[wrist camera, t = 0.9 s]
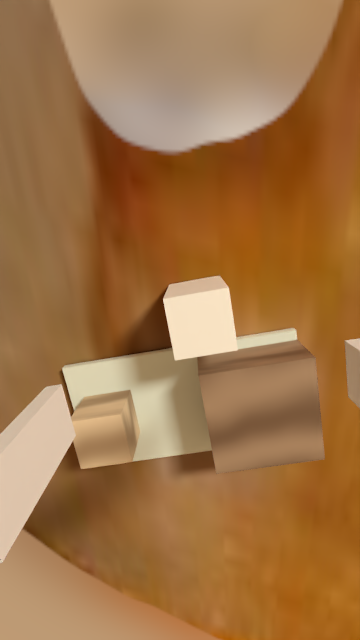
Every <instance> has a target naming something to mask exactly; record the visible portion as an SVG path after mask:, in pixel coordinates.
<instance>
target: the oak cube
mask: <svg viewBox="0 0 360 640" xmlns="http://www.w3.org/2000/svg"><path fill="white" fill-rule="evenodd" d="M71 420H72V423H73V427H74V430H75V434H76V436H75V438H74V440H73V443H74V447H75V450H76V453H77V457H78V460H79V464H80V467H81V469H86V468H93V467H100V466H107V465H114V464H121V463H128V462H133V458H134V454H135V451H136V447H137V443H138V439H139V435H140V428H139V424H138V420H137V415H136V411H135V407H134V403H133V398H132V394H131V390H125V391H118V392H112V393H106V394H99V395H93V396H87V397H84V398H83V400H82V401H81V403H80V404H79V406H78V407H77V409H76V410H75V412H74V413H73V415H72V416H71Z"/></svg>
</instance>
